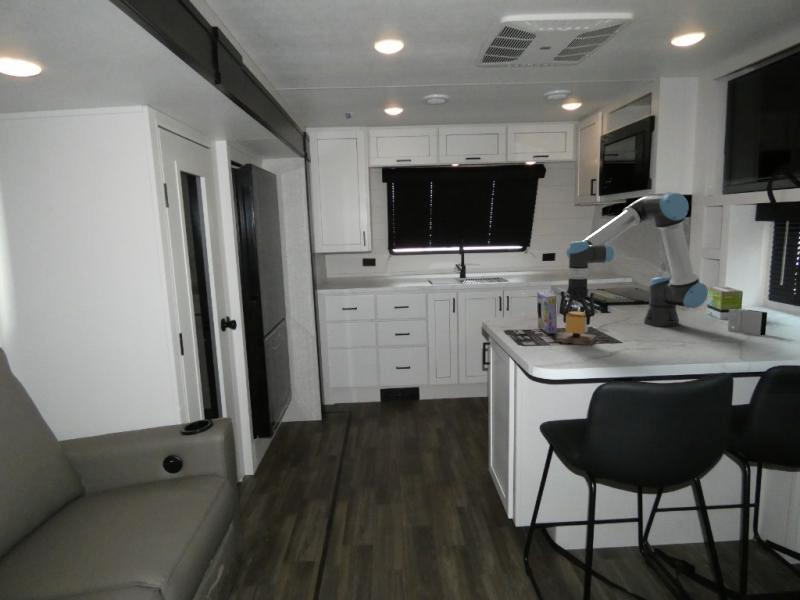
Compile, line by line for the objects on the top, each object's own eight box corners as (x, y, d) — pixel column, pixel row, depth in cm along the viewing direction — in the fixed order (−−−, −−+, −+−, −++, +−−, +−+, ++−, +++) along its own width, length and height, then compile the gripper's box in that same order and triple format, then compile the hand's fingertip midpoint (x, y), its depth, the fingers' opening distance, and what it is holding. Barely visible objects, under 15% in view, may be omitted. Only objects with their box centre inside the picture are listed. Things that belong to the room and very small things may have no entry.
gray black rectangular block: (726, 331, 223) (728, 309, 222) (731, 329, 226) (733, 307, 225) (763, 336, 212) (765, 313, 211) (767, 334, 215) (769, 311, 214)
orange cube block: (586, 330, 213) (587, 312, 211) (582, 333, 207) (583, 315, 206) (570, 329, 217) (570, 311, 215) (565, 332, 211) (566, 313, 210)
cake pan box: (536, 325, 245) (536, 290, 242) (546, 325, 245) (546, 290, 242) (546, 334, 226) (546, 296, 223) (557, 334, 226) (558, 296, 223)
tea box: (705, 314, 262) (707, 286, 260) (726, 314, 261) (728, 286, 258) (719, 319, 247) (722, 290, 245) (741, 319, 246) (744, 290, 244)
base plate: (596, 339, 213) (596, 335, 213) (589, 345, 204) (589, 341, 203) (563, 336, 221) (563, 332, 221) (555, 342, 211) (555, 337, 211)
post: (580, 336, 212) (581, 321, 211) (579, 337, 210) (579, 322, 209) (573, 335, 214) (574, 320, 213) (571, 336, 212) (572, 321, 211)
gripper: (551, 277, 211) (550, 330, 214) (600, 279, 200) (598, 335, 203) (556, 276, 217) (555, 327, 220) (604, 278, 206) (602, 331, 209)
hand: (576, 330), depth 212 cm, fingers closed on orange cube block, 7 cm apart
